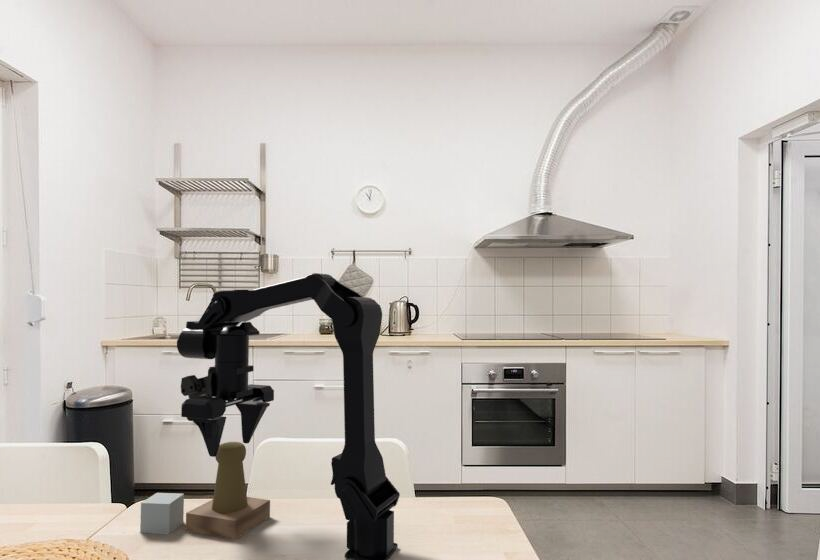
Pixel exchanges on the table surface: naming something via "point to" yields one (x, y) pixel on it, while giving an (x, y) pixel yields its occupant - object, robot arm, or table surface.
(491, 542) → the table surface
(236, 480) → the olive game pawn
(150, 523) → the slate cube
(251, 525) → the walnut block
